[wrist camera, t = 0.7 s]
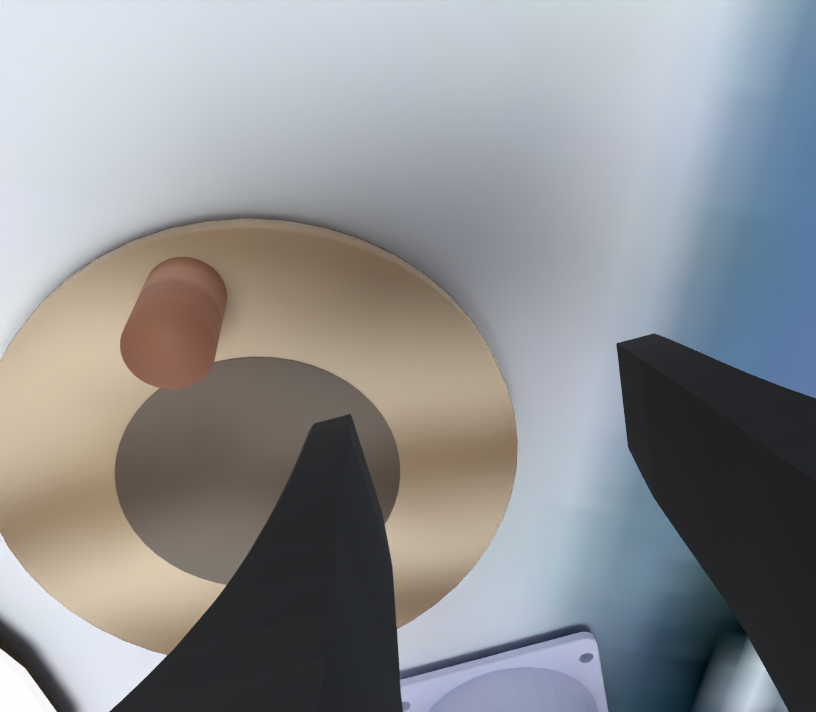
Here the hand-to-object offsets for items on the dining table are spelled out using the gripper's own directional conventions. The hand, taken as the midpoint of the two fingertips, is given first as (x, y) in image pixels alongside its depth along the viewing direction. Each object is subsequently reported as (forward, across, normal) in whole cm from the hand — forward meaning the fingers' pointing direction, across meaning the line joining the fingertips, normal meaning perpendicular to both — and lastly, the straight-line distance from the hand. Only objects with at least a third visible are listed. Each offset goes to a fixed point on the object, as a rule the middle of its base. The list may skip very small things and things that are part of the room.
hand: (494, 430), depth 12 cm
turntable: (+10, +6, +6) cm, 13 cm away
